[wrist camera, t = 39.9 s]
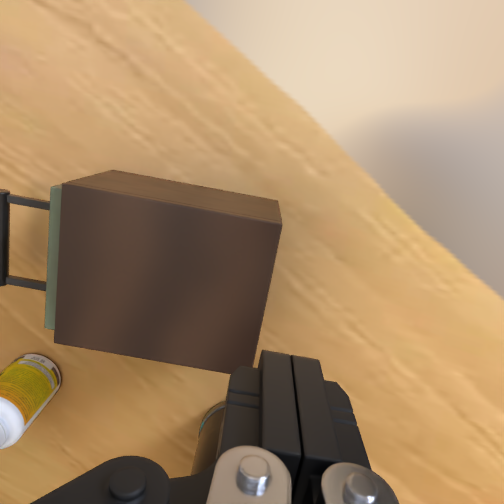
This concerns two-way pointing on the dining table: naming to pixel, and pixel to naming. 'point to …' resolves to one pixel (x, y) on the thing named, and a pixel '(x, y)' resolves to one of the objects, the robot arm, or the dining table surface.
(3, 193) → the drawer
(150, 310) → the cabinet
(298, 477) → the robot arm
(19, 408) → the supplement bottle
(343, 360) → the dining table surface
